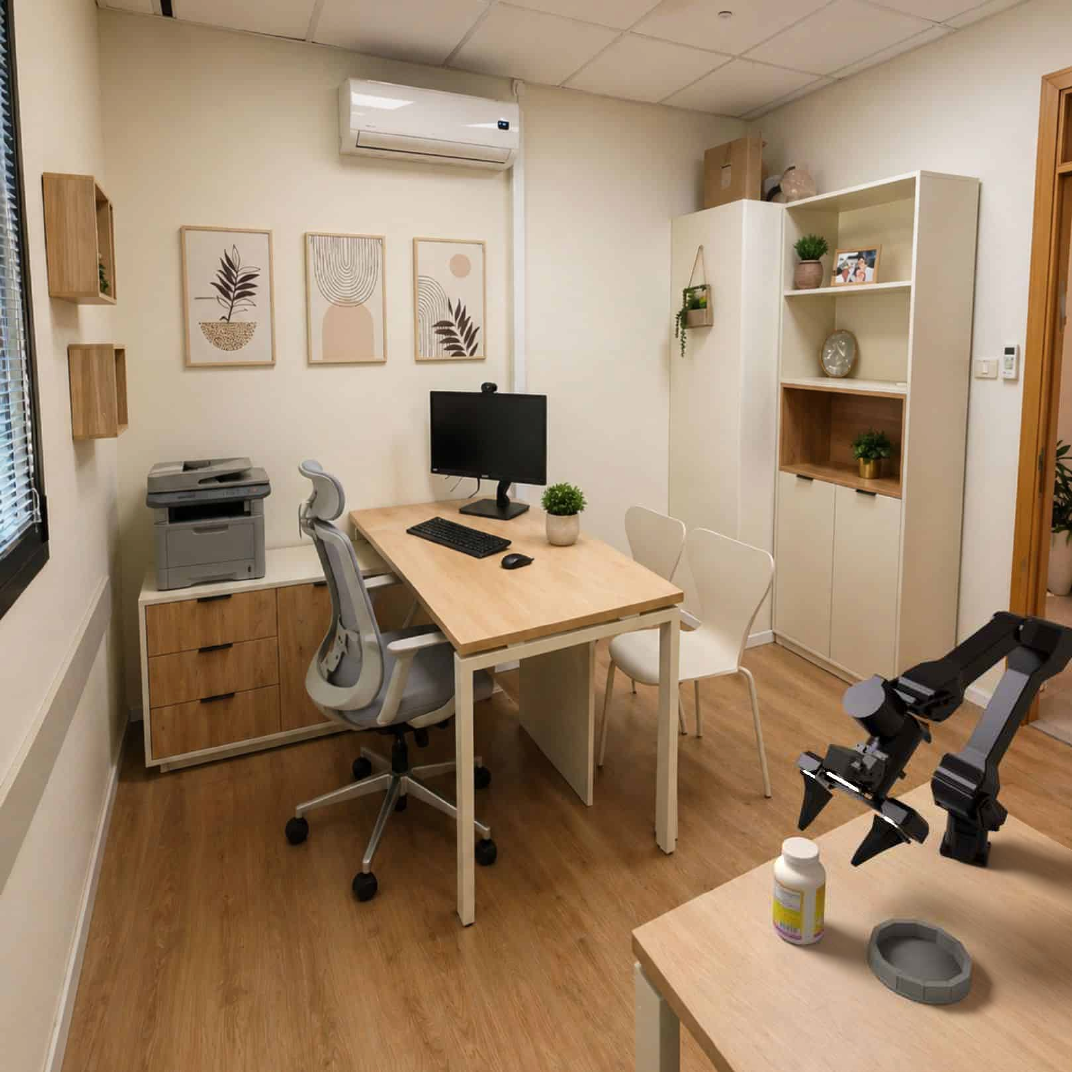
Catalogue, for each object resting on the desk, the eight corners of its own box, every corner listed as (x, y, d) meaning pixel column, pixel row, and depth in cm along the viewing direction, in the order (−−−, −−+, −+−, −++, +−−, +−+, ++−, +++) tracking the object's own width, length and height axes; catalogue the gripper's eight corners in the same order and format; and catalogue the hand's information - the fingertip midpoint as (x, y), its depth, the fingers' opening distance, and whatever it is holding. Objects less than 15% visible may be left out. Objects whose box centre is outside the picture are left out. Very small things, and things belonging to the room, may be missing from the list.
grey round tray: (878, 921, 113) (879, 906, 112) (976, 955, 106) (978, 938, 106) (857, 979, 103) (858, 963, 103) (964, 1020, 97) (966, 1002, 96)
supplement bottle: (812, 911, 115) (816, 830, 112) (830, 945, 109) (835, 861, 106) (765, 914, 115) (768, 833, 112) (781, 948, 109) (784, 864, 106)
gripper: (807, 698, 118) (746, 789, 115) (922, 754, 102) (854, 861, 99) (843, 734, 123) (785, 821, 121) (957, 792, 107) (893, 894, 105)
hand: (825, 846), depth 111 cm, fingers open, 9 cm apart
